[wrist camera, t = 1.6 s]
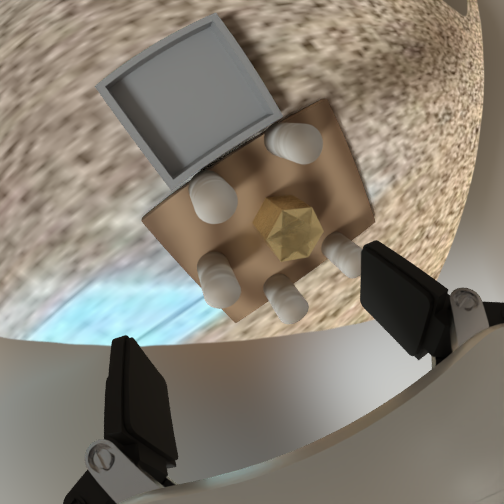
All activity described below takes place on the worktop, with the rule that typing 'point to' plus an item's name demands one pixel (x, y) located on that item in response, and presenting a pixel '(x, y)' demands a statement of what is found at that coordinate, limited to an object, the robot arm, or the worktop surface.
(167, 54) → the tray
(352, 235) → the board
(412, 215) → the worktop surface
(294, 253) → the faceted yellow gem
